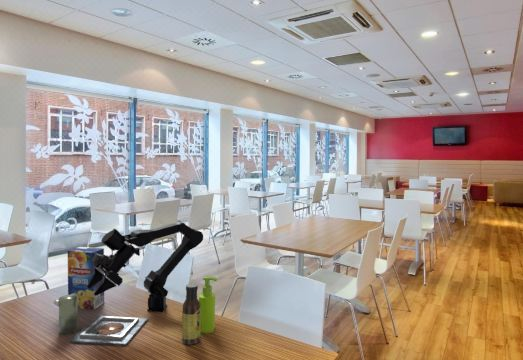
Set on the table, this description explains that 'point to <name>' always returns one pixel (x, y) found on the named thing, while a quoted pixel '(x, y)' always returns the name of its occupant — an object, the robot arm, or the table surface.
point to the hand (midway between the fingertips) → (91, 291)
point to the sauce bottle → (191, 316)
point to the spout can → (67, 314)
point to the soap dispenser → (207, 307)
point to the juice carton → (83, 277)
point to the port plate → (109, 331)
